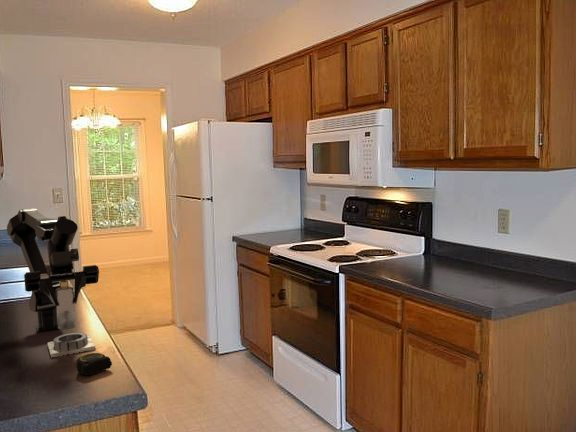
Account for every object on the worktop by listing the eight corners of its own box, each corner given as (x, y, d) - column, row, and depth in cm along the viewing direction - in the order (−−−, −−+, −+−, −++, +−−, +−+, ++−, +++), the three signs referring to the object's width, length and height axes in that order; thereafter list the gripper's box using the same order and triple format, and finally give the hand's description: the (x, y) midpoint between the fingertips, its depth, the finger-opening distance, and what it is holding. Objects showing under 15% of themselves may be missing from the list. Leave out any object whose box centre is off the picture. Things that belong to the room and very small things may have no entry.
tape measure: (85, 380, 126) (83, 364, 125) (72, 372, 131) (71, 357, 130) (112, 371, 131) (111, 356, 130) (99, 364, 135) (98, 349, 135)
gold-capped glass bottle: (57, 325, 148) (54, 280, 147) (75, 323, 150) (72, 278, 149) (58, 330, 144) (55, 284, 143) (77, 327, 146) (73, 282, 145)
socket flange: (47, 345, 151) (46, 336, 150) (89, 338, 156) (88, 328, 155) (51, 357, 141) (50, 347, 141) (95, 349, 146) (94, 339, 146)
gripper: (21, 242, 144) (25, 292, 135) (95, 236, 152) (104, 283, 144) (23, 266, 152) (27, 315, 143) (93, 259, 160) (101, 305, 151)
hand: (65, 304), depth 145 cm, fingers closed on gold-capped glass bottle, 4 cm apart
